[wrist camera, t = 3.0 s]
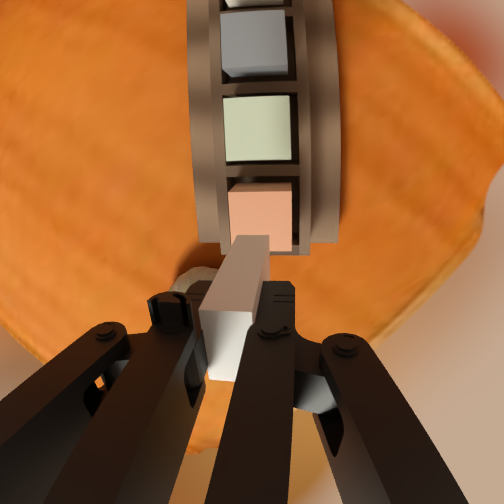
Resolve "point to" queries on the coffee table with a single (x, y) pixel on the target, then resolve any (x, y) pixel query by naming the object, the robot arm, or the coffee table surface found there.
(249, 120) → the sage key
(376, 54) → the coffee table surface
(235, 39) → the slate key
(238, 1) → the ivory key
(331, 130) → the brown stepped piece
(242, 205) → the terracotta key
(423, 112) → the coffee table surface
